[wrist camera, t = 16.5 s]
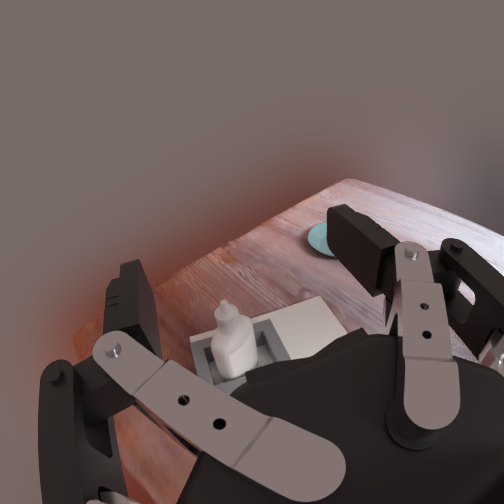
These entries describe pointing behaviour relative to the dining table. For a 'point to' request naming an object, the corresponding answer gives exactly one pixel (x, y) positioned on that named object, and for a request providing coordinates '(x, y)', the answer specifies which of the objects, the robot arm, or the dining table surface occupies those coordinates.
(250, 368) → the eye dropper bottle
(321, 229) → the saucer
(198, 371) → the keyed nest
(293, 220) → the dining table surface
